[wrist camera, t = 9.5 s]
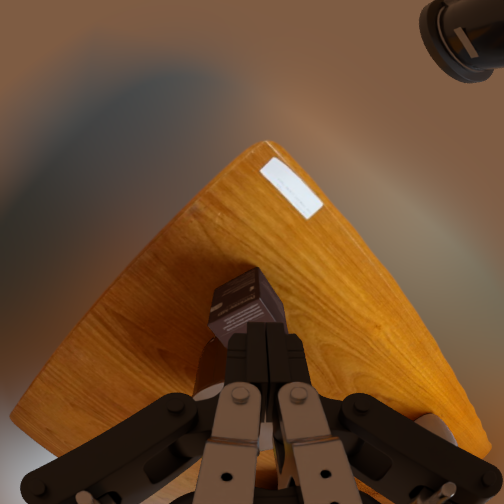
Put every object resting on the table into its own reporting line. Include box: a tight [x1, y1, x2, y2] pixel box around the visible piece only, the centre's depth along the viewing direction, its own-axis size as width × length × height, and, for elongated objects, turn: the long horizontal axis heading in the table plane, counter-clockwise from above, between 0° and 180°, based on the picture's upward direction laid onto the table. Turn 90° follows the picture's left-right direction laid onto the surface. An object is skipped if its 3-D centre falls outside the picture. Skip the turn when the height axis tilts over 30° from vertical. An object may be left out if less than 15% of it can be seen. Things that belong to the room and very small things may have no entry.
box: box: [207, 267, 288, 348], centre depth 32 cm, size 6×6×7 cm
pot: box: [192, 336, 227, 396], centre depth 35 cm, size 13×13×10 cm
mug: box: [414, 414, 458, 446], centre depth 43 cm, size 13×9×10 cm
